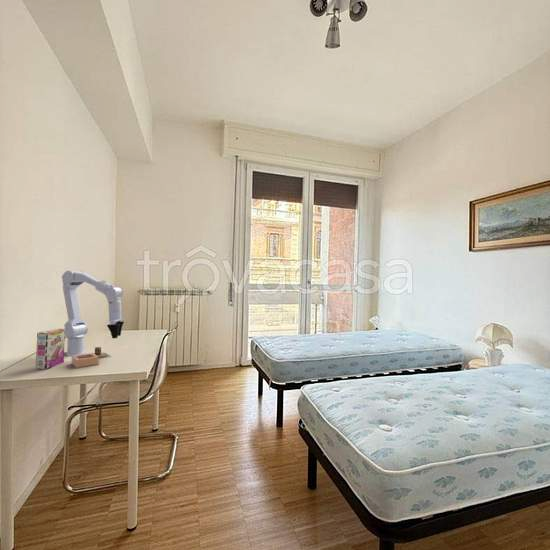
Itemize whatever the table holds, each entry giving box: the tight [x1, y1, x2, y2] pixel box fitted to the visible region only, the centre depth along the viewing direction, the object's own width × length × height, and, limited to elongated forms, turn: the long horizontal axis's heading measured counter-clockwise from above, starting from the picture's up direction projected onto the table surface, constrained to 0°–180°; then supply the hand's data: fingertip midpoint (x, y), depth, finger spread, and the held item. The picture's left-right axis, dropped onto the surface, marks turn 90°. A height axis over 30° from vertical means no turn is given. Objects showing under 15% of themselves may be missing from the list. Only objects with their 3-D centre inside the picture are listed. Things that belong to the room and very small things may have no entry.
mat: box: [99, 353, 112, 360], centre depth 154 cm, size 10×10×1 cm
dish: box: [71, 352, 100, 369], centre depth 140 cm, size 9×9×4 cm
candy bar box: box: [35, 328, 66, 370], centre depth 138 cm, size 11×5×16 cm, turn 178°
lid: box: [93, 346, 108, 359], centre depth 154 cm, size 8×8×4 cm
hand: (116, 337), depth 154 cm, fingers open, 7 cm apart
